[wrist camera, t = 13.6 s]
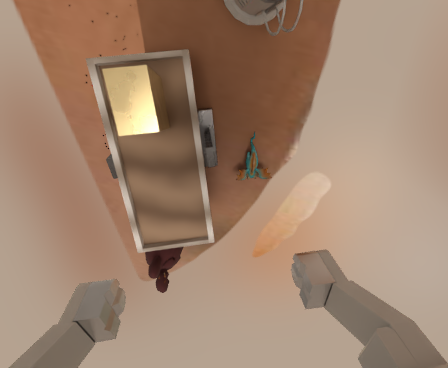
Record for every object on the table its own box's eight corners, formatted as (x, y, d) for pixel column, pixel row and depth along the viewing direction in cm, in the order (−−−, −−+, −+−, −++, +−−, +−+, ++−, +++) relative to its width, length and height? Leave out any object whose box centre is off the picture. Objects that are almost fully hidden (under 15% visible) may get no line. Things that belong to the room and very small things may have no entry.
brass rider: (128, 80, 26) (101, 68, 19) (161, 77, 26) (146, 64, 20) (139, 131, 28) (118, 136, 21) (170, 127, 28) (159, 131, 21)
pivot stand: (113, 118, 35) (90, 135, 27) (211, 108, 35) (215, 121, 28) (132, 172, 40) (116, 199, 32) (217, 162, 41) (221, 186, 33)
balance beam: (99, 65, 27) (85, 58, 24) (190, 56, 28) (188, 49, 25) (143, 240, 35) (138, 252, 32) (213, 231, 36) (214, 242, 33)
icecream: (189, 230, 48) (186, 292, 36) (157, 237, 48) (143, 302, 36) (180, 206, 45) (173, 266, 32) (145, 214, 45) (125, 277, 32)
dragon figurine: (231, 139, 42) (233, 179, 43) (235, 132, 35) (237, 181, 35) (264, 138, 42) (266, 178, 43) (274, 130, 35) (276, 179, 36)
